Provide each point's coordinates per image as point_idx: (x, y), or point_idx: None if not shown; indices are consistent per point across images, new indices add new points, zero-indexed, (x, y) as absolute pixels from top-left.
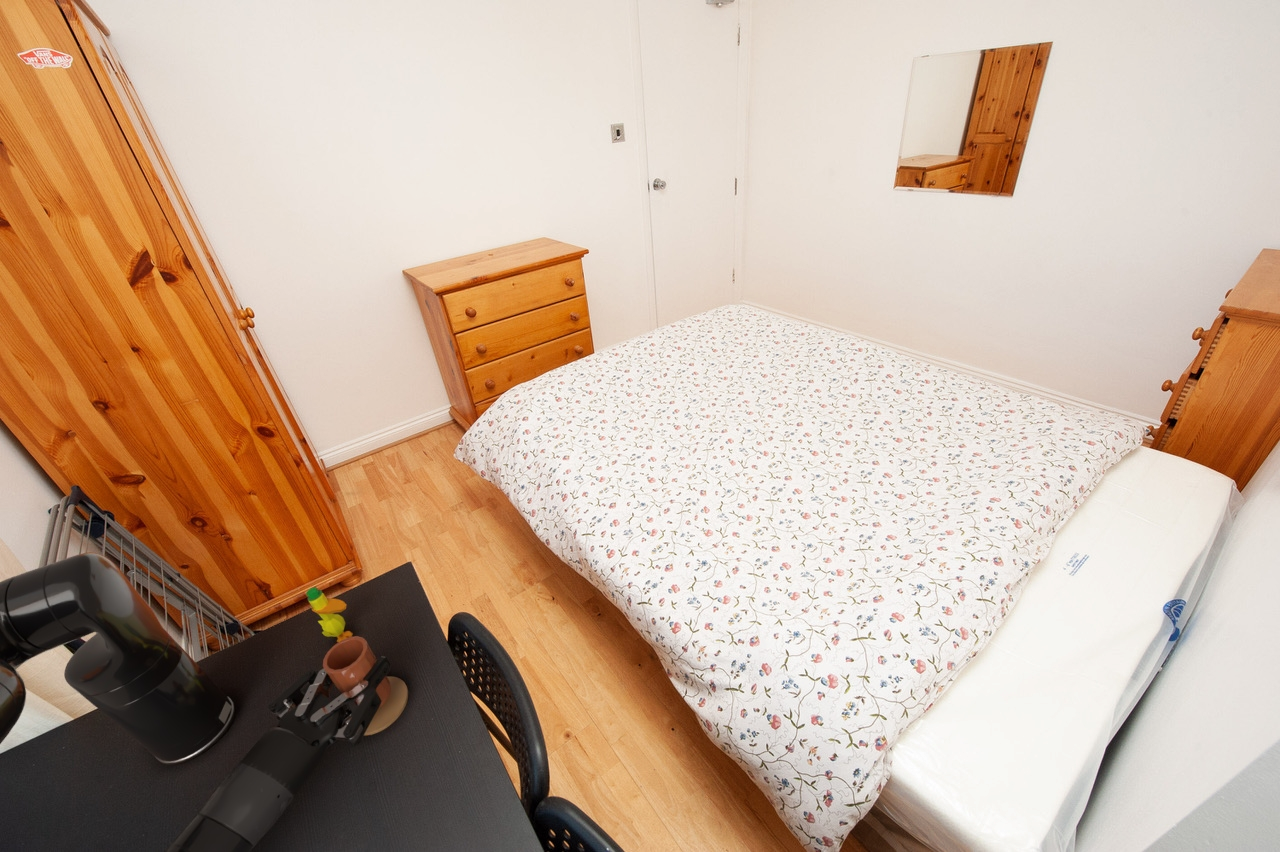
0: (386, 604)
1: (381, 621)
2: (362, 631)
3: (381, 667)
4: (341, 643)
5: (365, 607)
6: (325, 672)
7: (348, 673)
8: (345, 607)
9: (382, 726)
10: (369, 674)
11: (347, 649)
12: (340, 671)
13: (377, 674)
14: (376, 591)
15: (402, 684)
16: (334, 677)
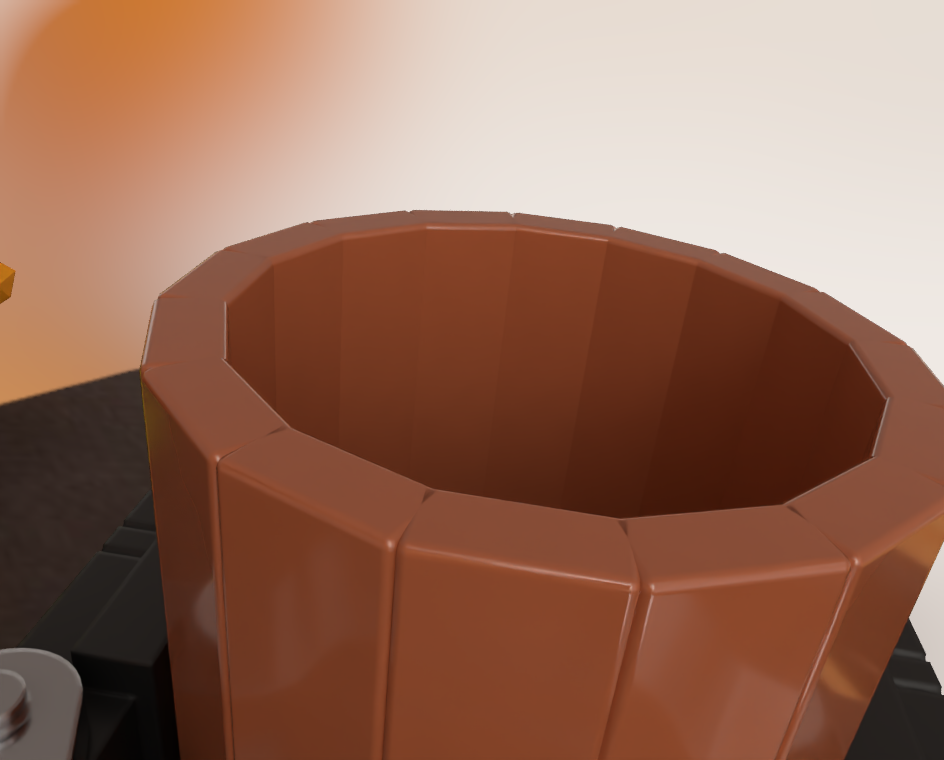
0: (145, 443)
1: None
2: (35, 556)
3: None
4: (343, 241)
5: (18, 451)
6: (47, 710)
7: (867, 636)
8: (7, 288)
9: None
10: (886, 716)
11: (359, 391)
12: (830, 543)
13: (939, 722)
14: (63, 395)
15: None
16: (578, 737)
